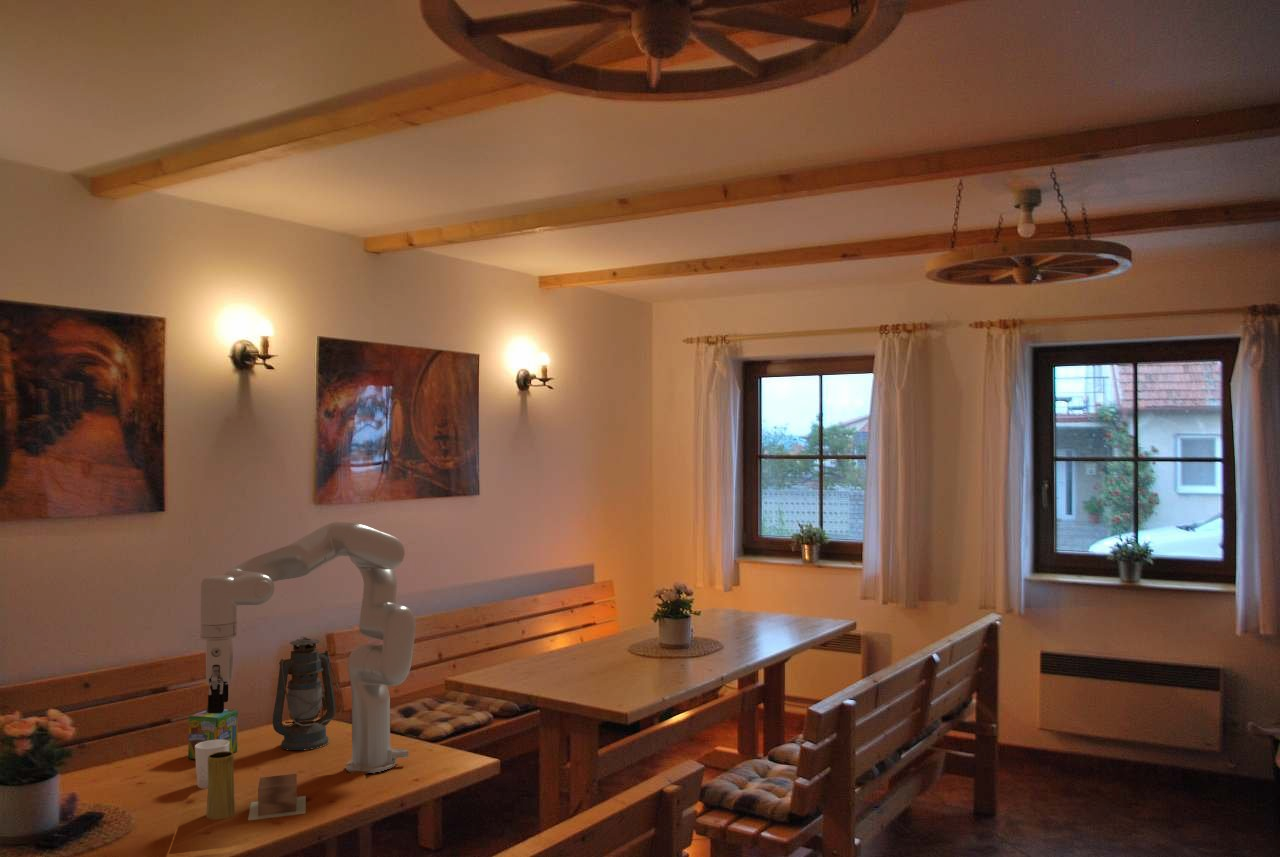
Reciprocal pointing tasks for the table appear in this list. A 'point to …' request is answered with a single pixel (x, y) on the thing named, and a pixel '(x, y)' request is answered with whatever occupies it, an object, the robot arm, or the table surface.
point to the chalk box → (213, 729)
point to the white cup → (202, 758)
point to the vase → (220, 785)
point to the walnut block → (277, 794)
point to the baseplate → (299, 810)
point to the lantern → (305, 696)
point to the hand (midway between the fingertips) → (218, 707)
